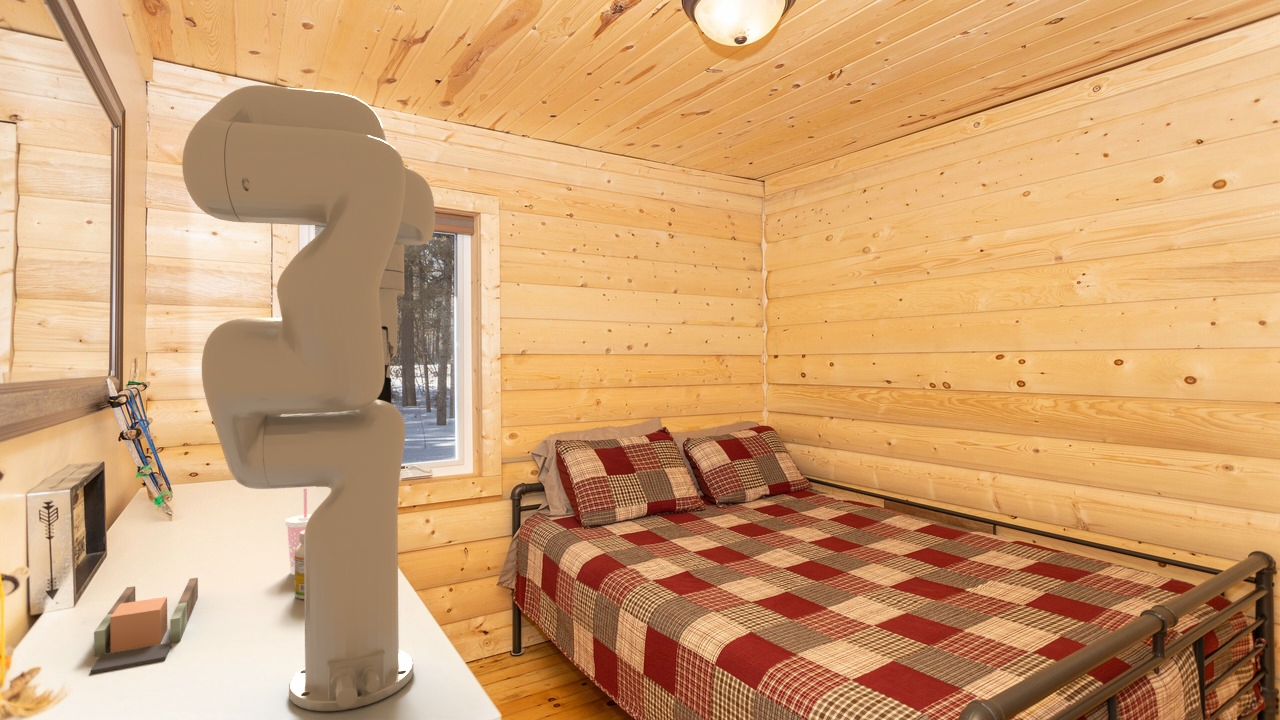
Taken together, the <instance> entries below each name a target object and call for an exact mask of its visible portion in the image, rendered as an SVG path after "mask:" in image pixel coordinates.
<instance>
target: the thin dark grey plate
mask: <svg viewBox="0 0 1280 720" xmlns="http://www.w3.org/2000/svg"><path fill="white" fill-rule="evenodd" d="M171 648H172V643H171V642H167V643H161V644H158V645H152V646H146V647H140V648H135V649H129V650H123V651H117V652H108V653H105V654H102V655H99V656H98V658H97V660H96V661H95V663H94V665H93V666H92V667H91V668H90V670H89V671H90V673H89V674H90V675H91V674H97V673H102V672H109V671H114V670H119V669H123V668H124V669H125V668H130V667H135V666H140V665H141V666H142V665H147V664H152V663H156V662H162V661H165V660H166V659H167V657H168V654H169V652H170V649H171Z"/></svg>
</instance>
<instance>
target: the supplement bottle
mask: <svg viewBox="0 0 1280 720" xmlns="http://www.w3.org/2000/svg"><path fill="white" fill-rule="evenodd" d="M304 533H305V530H303V531H301V532H300V537H299V540H300V542H301V545H299V546H298V547H297V548H296V549H295V575H294V595H295V598H297V599H300V600H305V593H304Z"/></svg>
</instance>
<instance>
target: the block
mask: <svg viewBox="0 0 1280 720" xmlns="http://www.w3.org/2000/svg"><path fill="white" fill-rule="evenodd" d="M167 631H168V596H163V597H158V598H151V599H144V600H138V601H137V600H135V602H128V603H122V604H120V605H119V606H118V607H117V609H116V610H115V611H114V613H113V614H112V616H111V617H110V632H111V646H110V653H114V652H120V651H125V650H131V649H137V648H143V647H148V646H154V645H160V644H162V641H163V639H164V638H165V636H166V634H167Z"/></svg>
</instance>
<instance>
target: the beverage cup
mask: <svg viewBox="0 0 1280 720" xmlns="http://www.w3.org/2000/svg"><path fill="white" fill-rule="evenodd" d="M307 495H308V489H307V488H303V514H300V515H299V514H298V515H294V516H291V517H288V518H286V519H285V520H284V523H285V526H286V530H287V532H286V533H287V542H288V553H289V555H288V556H289V566H290V568H289V569H290V573H291V575H294V576H295V549H296V548H297V547H298V546H299V545H301V542H300V540H299V537H300V532H301V531H303V530H305V528H306V525H307V523H308V520H309V519H310V517H311V515H312V514H313V513H310V514H309V513H308V496H307Z"/></svg>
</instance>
